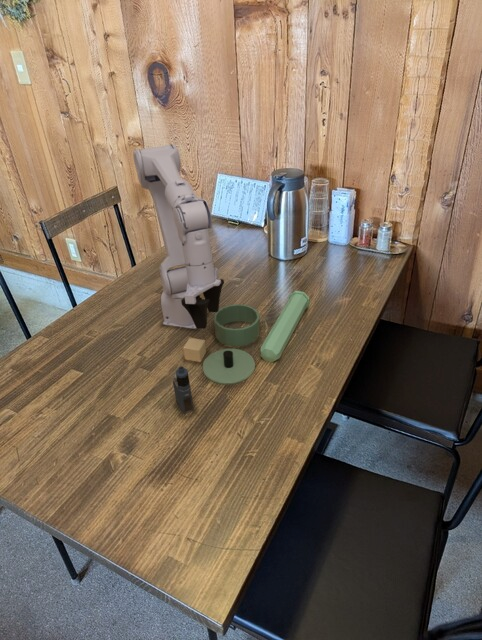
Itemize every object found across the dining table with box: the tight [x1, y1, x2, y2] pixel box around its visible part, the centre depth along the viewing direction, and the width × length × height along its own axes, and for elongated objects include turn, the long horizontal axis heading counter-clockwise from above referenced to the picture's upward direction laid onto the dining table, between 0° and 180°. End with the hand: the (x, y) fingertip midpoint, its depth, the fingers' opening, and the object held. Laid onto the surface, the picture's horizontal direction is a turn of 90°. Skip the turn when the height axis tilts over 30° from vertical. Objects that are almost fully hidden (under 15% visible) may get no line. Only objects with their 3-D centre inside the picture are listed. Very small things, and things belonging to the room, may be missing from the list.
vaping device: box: [172, 365, 195, 415], centre depth 90 cm, size 3×5×12 cm, turn 28°
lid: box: [202, 348, 256, 386], centre depth 101 cm, size 12×12×4 cm
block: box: [182, 337, 207, 363], centre depth 105 cm, size 4×4×4 cm
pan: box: [213, 303, 261, 348], centre depth 112 cm, size 11×11×6 cm
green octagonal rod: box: [260, 290, 311, 363], centre depth 111 cm, size 6×6×25 cm
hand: (207, 319), depth 98 cm, fingers open, 7 cm apart
